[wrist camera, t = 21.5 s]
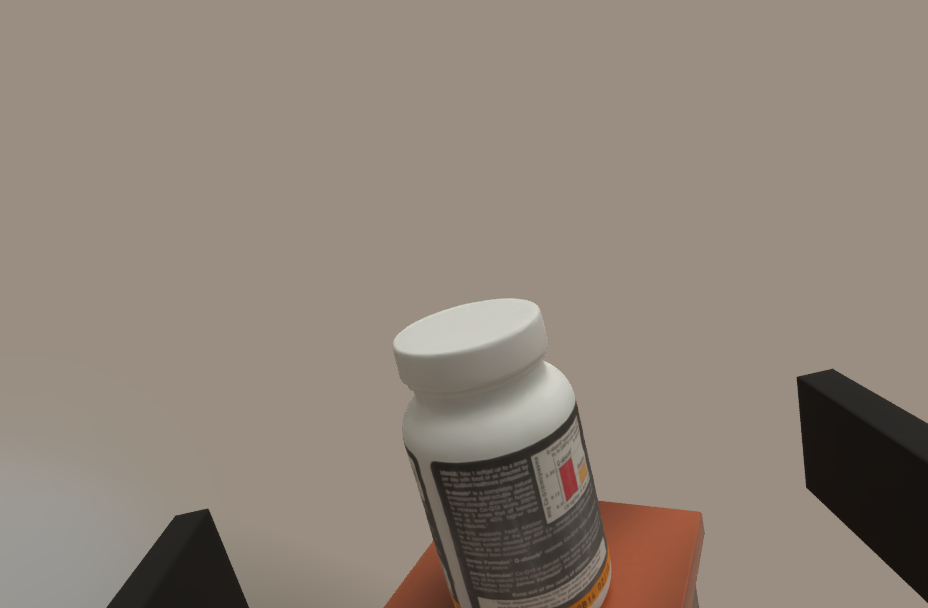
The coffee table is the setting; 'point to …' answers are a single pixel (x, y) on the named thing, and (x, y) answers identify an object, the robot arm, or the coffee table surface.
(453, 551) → the pill bottle
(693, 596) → the stand
